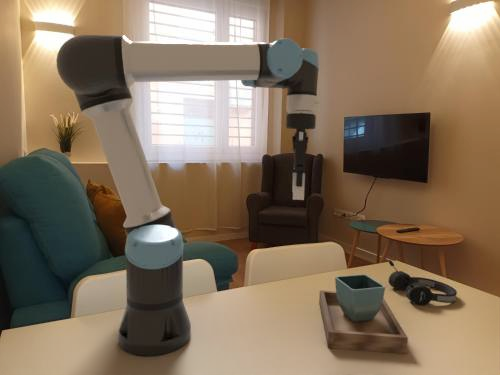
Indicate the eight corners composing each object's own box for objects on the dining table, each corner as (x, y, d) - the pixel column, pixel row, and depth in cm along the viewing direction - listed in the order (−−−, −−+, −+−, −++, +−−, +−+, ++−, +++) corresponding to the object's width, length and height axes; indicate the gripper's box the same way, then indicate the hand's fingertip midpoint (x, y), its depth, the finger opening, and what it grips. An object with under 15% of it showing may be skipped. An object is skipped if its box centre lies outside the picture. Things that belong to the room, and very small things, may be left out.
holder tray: (327, 347, 78) (328, 332, 78) (319, 302, 100) (319, 290, 100) (406, 353, 77) (407, 337, 76) (380, 306, 99) (381, 294, 98)
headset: (380, 254, 111) (440, 260, 114) (374, 285, 112) (434, 290, 115) (404, 270, 98) (472, 276, 101) (397, 305, 99) (465, 310, 102)
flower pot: (332, 310, 94) (334, 276, 92) (363, 307, 96) (365, 273, 95) (349, 327, 85) (352, 289, 84) (383, 323, 87) (386, 287, 86)
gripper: (320, 109, 83) (315, 204, 85) (312, 116, 107) (309, 189, 110) (286, 109, 83) (282, 202, 86) (286, 116, 108) (283, 188, 111)
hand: (297, 195), depth 98 cm, fingers open, 13 cm apart
